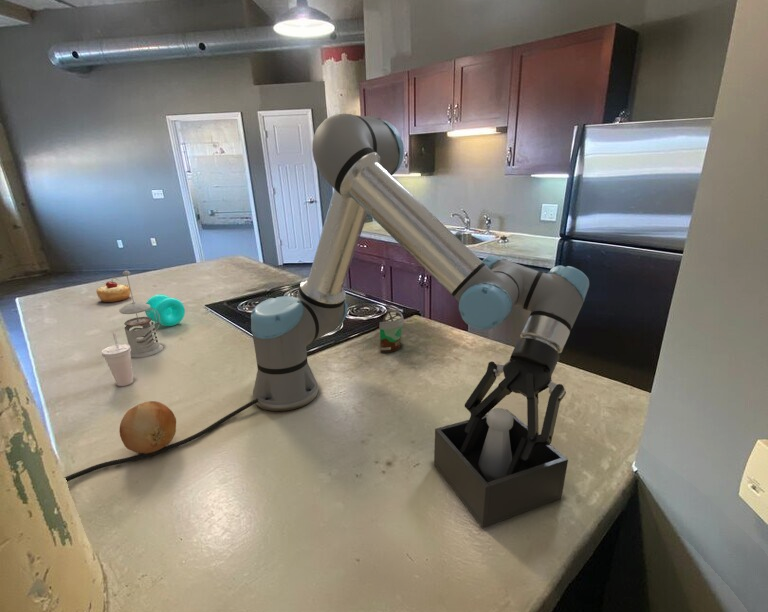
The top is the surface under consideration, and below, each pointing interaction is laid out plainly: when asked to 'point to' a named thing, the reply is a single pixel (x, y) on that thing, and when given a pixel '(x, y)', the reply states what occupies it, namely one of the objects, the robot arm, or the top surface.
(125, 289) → the pastry
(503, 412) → the salt shaker
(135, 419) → the onion
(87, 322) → the top surface
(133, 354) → the french press
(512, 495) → the basket
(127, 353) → the smoothie
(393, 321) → the food container
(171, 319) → the turquoise short spool shape
